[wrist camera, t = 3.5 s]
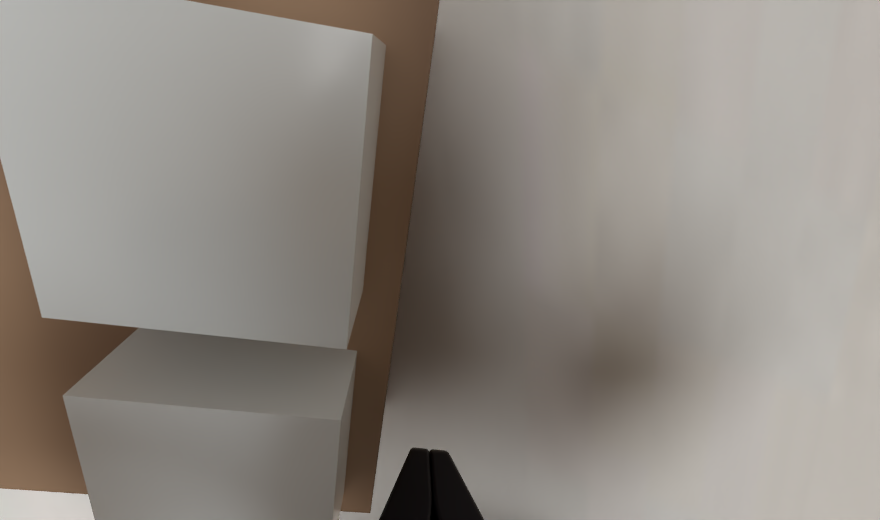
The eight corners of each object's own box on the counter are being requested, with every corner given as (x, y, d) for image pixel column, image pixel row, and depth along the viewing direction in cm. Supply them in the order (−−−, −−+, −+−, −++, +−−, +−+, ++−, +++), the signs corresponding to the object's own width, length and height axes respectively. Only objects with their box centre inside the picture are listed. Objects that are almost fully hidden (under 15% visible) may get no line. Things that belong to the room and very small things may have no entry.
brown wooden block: (433, 27, 10) (439, 0, 6) (382, 405, 15) (370, 512, 11) (-17, -56, 9) (-311, -144, 5) (83, 377, 14) (-38, 485, 10)
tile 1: (356, 350, 9) (340, 420, 7) (344, 491, 11) (327, 576, 9) (139, 327, 9) (62, 395, 7) (162, 479, 10) (106, 565, 9)
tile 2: (385, 44, 7) (372, 34, 5) (362, 290, 8) (346, 349, 7) (87, -8, 6) (-53, -44, 4) (128, 262, 8) (42, 317, 6)
